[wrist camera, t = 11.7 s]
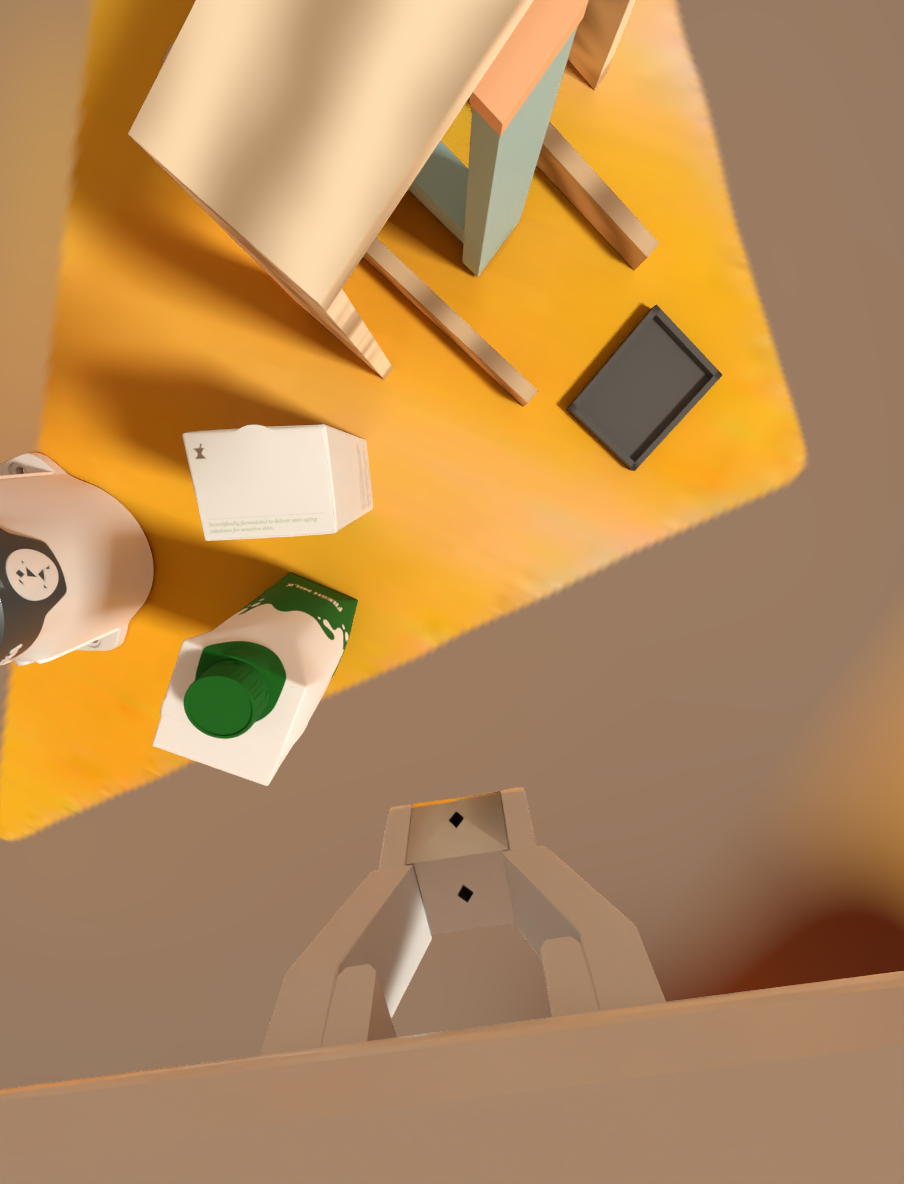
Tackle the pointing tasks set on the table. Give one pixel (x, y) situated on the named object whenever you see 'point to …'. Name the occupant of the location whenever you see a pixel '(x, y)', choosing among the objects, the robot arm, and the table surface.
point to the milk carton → (256, 679)
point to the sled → (502, 134)
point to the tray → (644, 389)
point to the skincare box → (278, 480)
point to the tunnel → (351, 138)
